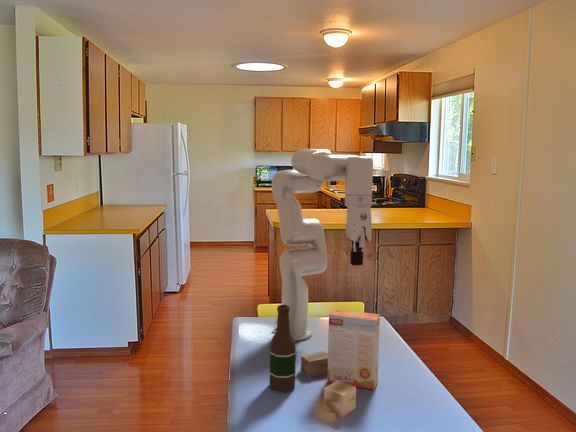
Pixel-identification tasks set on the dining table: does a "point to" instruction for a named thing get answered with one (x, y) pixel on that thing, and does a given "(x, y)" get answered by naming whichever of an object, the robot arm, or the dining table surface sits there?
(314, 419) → the dining table surface
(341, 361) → the cracker box
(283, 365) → the beer bottle
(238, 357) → the dining table surface
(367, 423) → the dining table surface
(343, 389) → the maple block
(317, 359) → the walnut block
